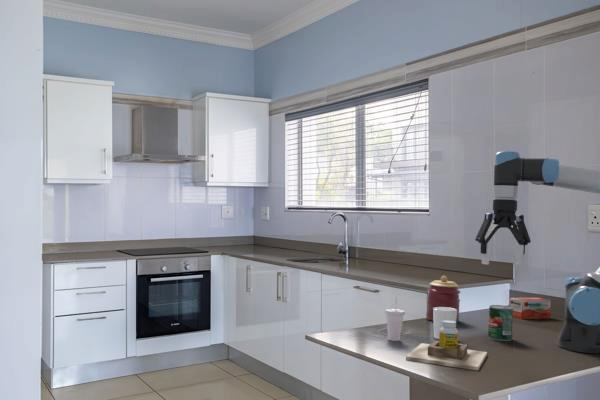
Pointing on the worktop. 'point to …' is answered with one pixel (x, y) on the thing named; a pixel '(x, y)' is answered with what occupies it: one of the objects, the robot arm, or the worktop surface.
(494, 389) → the worktop surface
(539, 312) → the medicine box
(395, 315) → the smoothie
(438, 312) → the white cup
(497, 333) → the canned tomato
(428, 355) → the socket board
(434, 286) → the canister
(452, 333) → the supplement bottle
